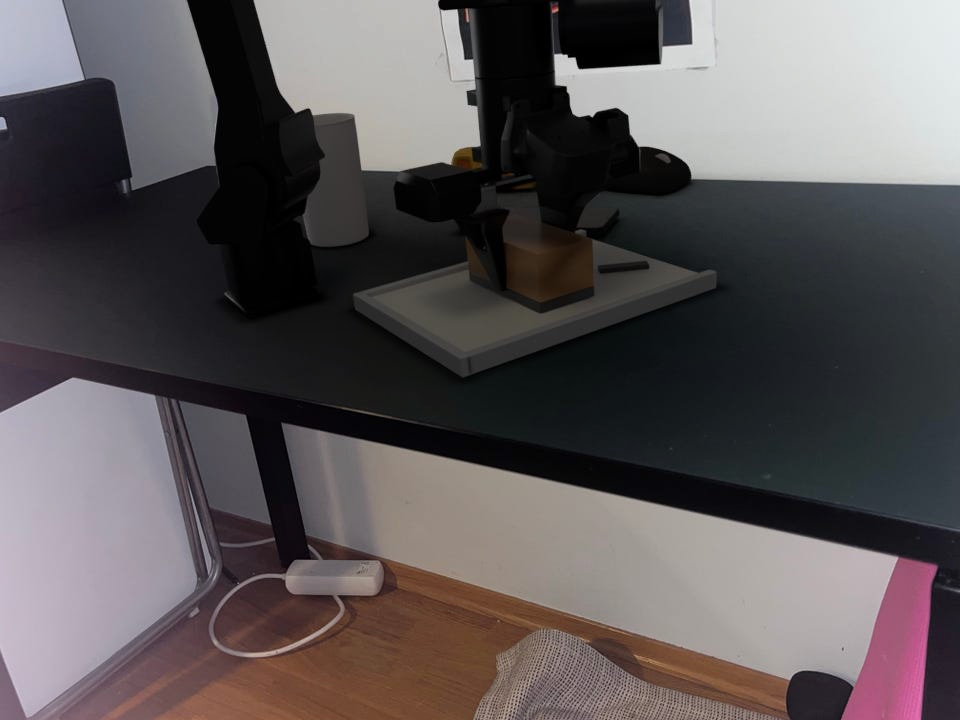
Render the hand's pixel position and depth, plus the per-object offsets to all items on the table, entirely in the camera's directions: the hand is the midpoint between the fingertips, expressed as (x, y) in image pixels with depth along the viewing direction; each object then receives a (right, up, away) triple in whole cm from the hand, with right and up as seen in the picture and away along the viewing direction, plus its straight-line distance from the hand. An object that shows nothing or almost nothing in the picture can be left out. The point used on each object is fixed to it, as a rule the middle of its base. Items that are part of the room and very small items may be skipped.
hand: (528, 281), depth 68 cm
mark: (+8, +1, +2) cm, 8 cm away
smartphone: (+2, +7, +19) cm, 20 cm away
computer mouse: (+14, +14, +31) cm, 36 cm away
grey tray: (+1, -1, +1) cm, 2 cm away
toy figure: (-1, +14, +34) cm, 37 cm away
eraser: (0, 0, 0) cm, 0 cm away
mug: (-20, +7, +22) cm, 31 cm away
